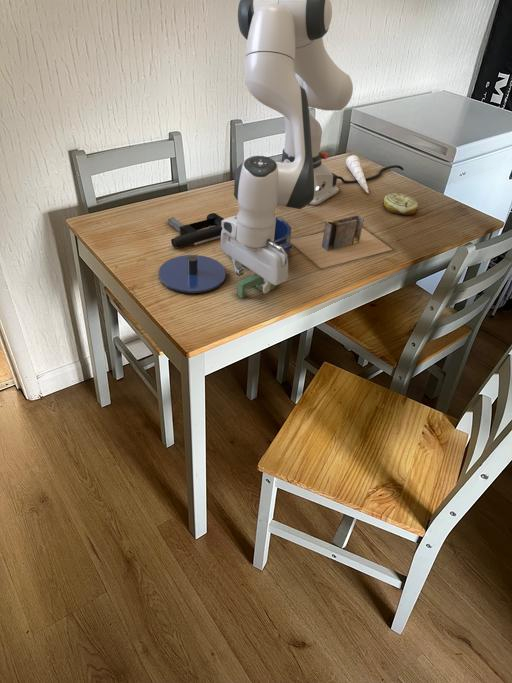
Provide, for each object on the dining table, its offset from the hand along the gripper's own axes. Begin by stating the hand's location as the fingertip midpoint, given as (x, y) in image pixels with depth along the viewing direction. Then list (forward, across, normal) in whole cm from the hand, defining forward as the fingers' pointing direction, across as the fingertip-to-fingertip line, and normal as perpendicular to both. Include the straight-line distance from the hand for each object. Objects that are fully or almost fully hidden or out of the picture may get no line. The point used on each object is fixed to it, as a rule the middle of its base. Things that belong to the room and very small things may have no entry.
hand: (251, 282), depth 131 cm
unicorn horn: (+2, +29, -78) cm, 83 cm away
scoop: (+2, 0, -2) cm, 3 cm away
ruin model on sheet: (+3, +2, -36) cm, 36 cm away
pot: (+2, +12, -14) cm, 18 cm away
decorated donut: (+2, +6, -70) cm, 70 cm away
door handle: (+3, +32, -7) cm, 33 cm away
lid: (+2, +14, +7) cm, 16 cm away
